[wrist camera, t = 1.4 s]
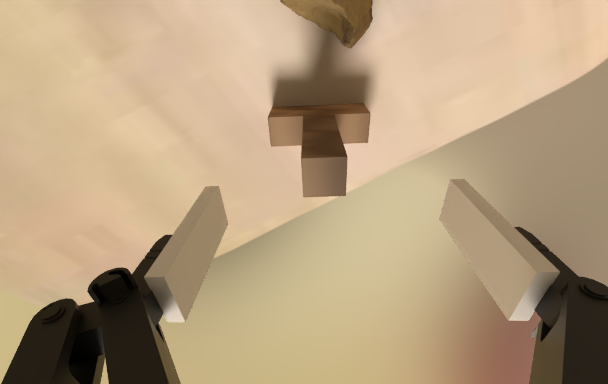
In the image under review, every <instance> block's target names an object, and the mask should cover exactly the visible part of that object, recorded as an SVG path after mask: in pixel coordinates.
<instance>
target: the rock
mask: <svg viewBox="0 0 608 384" xmlns="http://www.w3.org/2000/svg"><path fill="white" fill-rule="evenodd" d="M280 2H281V3H283V4H284V5H286V6H287V7H289V8H290V9H292V10H293V11H294V12H295V13H296V14H298V15H299V16H302V17H304V18H305V19H307V20H312V21H313V22H315V23H317V24H318V26H319V27H321V28H323V29H326V30H329V31H331V32H334V33H335V34H336V36H337V37H338V38H339V39H340V40H341V42H342V43H343V44H344V45H345V46H347V47H349V48H352V47H353V46H354V45H355V43H356V42H357V41H358V40H359V39H360V38H361V37H362V36H363V34H364V33H365V32H366V30H367V29H368V28H369V26H370V23H371V22H372V19H373V18H372V8H371V6H372V0H281V1H280Z"/></svg>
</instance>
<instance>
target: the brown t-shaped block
mask: <svg viewBox="0 0 608 384" xmlns="http://www.w3.org/2000/svg"><path fill="white" fill-rule="evenodd" d="M369 124H370V112H369V111H368V109H367V108H366V107H365V105H364V104H363V103H361V104H339V105H317V106H295V107H273V108H272V109H271V112H270V114H269V116H268V125H269V133H270V141H271V146H295V145H302V152H301V165H302V182H303V197H325V196H346V177H347V154H346V151H345V148H344V145H343V144H345V143H368V136H369Z"/></svg>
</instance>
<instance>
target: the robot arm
mask: <svg viewBox="0 0 608 384" xmlns="http://www.w3.org/2000/svg"><path fill="white" fill-rule="evenodd" d="M440 220H441V222H442V224H443V225H444V227H445V228H446V230H447V231H448V233H449V234H450V235H451V237H452V238H453V239H454V241H455V243H456V244H457V246H458V247H459V248H460V250H461V251H462V253H463V254H464V256H465V257H466V259H467V260H468V262H469V263H470V265H471V266H472V268H473V269H474V271H475V272H476V274H477V275H478V277H479V278H480V280H481V281H482V282H483V284H484V285H485V287H486V288H487V290H488V291H489V293H490V294H491V296H492V297H493V298H494V300H495V302H496V303H497V304H498V306H499V307H500V309H501V310H502V312H503V313H504V314H505V316H506V318H507V319H508V320H509V321H516V320H517V321H518V320H519V321H520V320H521V321H523V320H524V321H526V320H529V319H530V317H531V316H532V314H533V313H534V311H536V312H537V314H538V315H539V316H540V317H541V319H542V320H541V321H540V323H539V324H538V326H537V327H536V329H535V330H534V331H533V333H532V335H531V337H532V338H534V337H535V336H536V335H537V336H536V344H535V350H534V356H533V363H532V369H531V376H530V383H529V384H608V287H607V286H605V285H604V284H602V283H599V282H597V281H595V280H593V279H589V278H585V277H579V276H577V275H576V274H575V273H574V272H573V271H572V270H571V269H570V268H569V267H568V266H566V265H565V264H564V263H563V262H562V261H561V260H560V259H559V258H558V257H557V256H556V255H554V254H553V253H552V252H550V251H549V249H548V248H547V247H546V246H545V245H543V244H542V243H541V242H540V241H539V240H538V239H537V238H536V237H535V236H534V235H533V234H531V233H529V232H527V231H526V230H524V229H522V228H520V227H513V226H512V225H511V224H510V223H509V222H508V221H507V220H506V219H505V218H504V217H503V216H502V215H501V214H500V213H498V211H497V210H496V209H494V207H493V206H491V204H489V203H488V202H487V201H486V200H485V199H484V198H483V197H482V196H481V195H480V194H479V193H478V192H477V191H476V190H475V189H474V188H473V187H472V186H471V185H469V183H468V182H467V181H465V180H464V179H455V180H454V179H452V180H450V183H449V186H448V189H447V193H446V197H445V200H444V204H443V208H442V212H441V215H440ZM227 225H228V221H227V217H226V213H225V209H224V205H223V201H222V197H221V193H220V189H219V186H209V187H205V189H204V190H203V191H202V193H201V194H200V196H199V197H198V199H197V200H196V202H195V203H194V205H193V206H192V208H191V209H190V211H189V212H188V213H187V215H186V216H185V218H184V219H183V221H182V222H181V224H180V225H179V227H178V228H177V230H176V231H175V232H174V234H173V235H164V236H163V237H162V238H161V239H159V240H158V241H157V242H156V243H155V244H154V245H153V247H152V248H151V249H150V252H148V253H147V255H146V256H145V259H143V260H142V261H141V263H140V264H139V265H138V267H137V268H136V270H135V271H134V272H133V274H132V275H131V273H130V271H129V270H128V269H126V268H114V269H111V270H108V271H106V272H104V273H102V274H101V275H99V276H98V277H97V278H95V279H94V280H93V281H92V283H91V284H90V285H89V287H88V291H87V292H88V293H89V294H90V296H91V297H92V299H93V300H94V301H95V302H91V303H87V304H84V305H80V306H78V305H77V303H76V302H75V301H74V300H73V299H67V298H66V299H62V300H58V301H56V302H53V303H51V304H49V305H48V306H46V307H44V308H43V309H41V310H40V311H39V312H38V313H37V314H36V315H35V316H34V317H33V319H32V320H31V321H30V323H29V325H28V327H27V330H26V332H25V334H24V336H23V338H22V340H21V342H20V345H19V347H18V349H17V351H16V353H15V355H14V358H13V360H12V362H11V364H10V366H9V368H8V370H7V372H6V375H5V377H4V379H3V381H2V383H1V384H100V382H101V377H102V371H103V365H104V360H105V359H106V365H107V373H108V380H109V384H181V383H180V380H179V378H178V375H177V372H176V369H175V366H174V363H173V360H172V358H171V355H170V352H169V349H168V346H167V343H166V341H165V338H164V335H163V332H162V329H161V327H160V325H159V321H160V319H161V317H162V315H164V316H165V318H166V320H167V322H186V319H187V317H188V315H189V312H190V310H191V308H192V306H193V303H194V301H195V299H196V296H197V294H198V292H199V290H200V287H201V285H202V283H203V280H204V278H205V276H206V273H207V271H208V269H209V267H210V264H211V262H212V260H213V257H214V255H215V253H216V250H217V248H218V246H219V244H220V241H221V239H222V237H223V234H224V232H225V230H226V227H227Z"/></svg>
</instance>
